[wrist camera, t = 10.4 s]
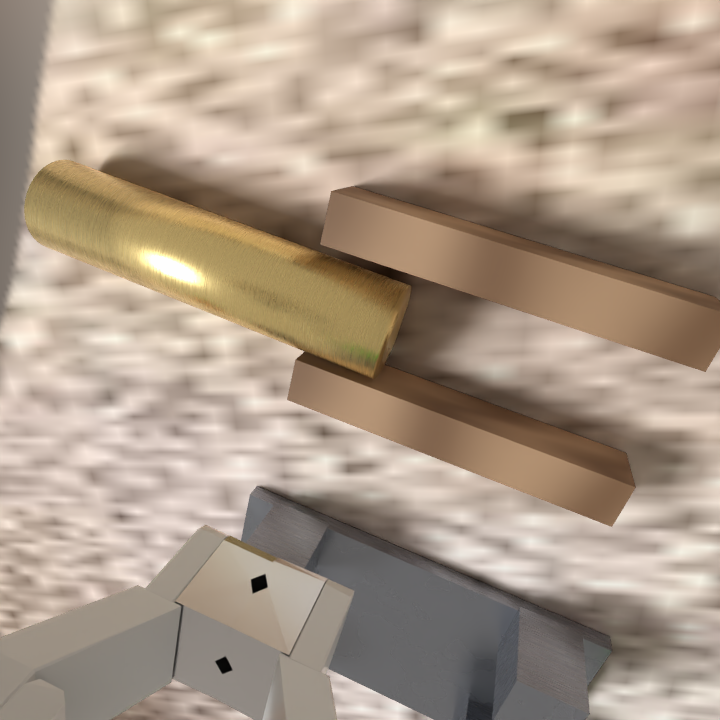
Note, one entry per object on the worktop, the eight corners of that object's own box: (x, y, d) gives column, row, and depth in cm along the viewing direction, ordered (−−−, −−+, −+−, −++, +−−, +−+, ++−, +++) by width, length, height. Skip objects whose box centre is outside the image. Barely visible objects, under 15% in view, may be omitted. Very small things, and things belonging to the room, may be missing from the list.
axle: (417, 278, 22) (397, 294, 19) (388, 362, 24) (364, 392, 20) (100, 162, 25) (27, 156, 21) (90, 244, 26) (21, 252, 23)
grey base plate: (612, 633, 25) (627, 731, 21) (529, 754, 30) (527, 855, 26) (257, 481, 29) (209, 540, 24) (232, 612, 33) (187, 680, 29)
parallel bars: (714, 297, 19) (738, 317, 17) (604, 489, 23) (611, 526, 21) (353, 186, 21) (331, 190, 19) (309, 377, 25) (287, 399, 23)
